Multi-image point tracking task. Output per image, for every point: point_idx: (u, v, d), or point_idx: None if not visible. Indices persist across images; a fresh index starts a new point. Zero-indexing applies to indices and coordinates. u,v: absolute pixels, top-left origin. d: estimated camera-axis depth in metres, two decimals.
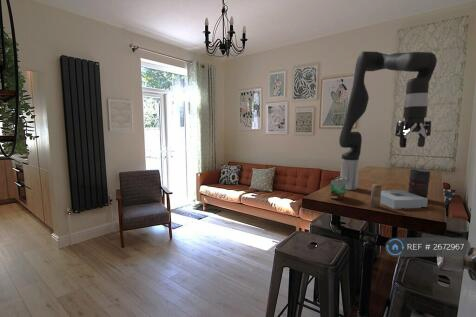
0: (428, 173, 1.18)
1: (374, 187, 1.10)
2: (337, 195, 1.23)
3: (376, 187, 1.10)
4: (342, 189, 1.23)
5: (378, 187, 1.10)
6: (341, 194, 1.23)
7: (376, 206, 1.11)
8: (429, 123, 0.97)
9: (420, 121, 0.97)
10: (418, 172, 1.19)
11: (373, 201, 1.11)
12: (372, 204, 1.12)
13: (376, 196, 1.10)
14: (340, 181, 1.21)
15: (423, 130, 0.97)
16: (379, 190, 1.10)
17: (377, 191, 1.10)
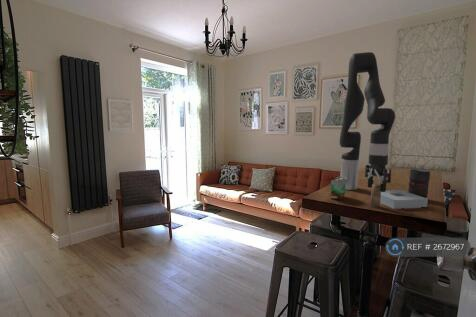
0: (428, 173, 1.18)
1: (374, 187, 1.10)
2: (337, 195, 1.23)
3: (376, 187, 1.10)
4: (342, 189, 1.23)
5: (378, 187, 1.10)
6: (341, 194, 1.23)
7: (376, 206, 1.11)
8: None
9: None
10: (418, 172, 1.19)
11: (373, 201, 1.11)
12: (372, 204, 1.12)
13: (376, 196, 1.10)
14: (340, 181, 1.21)
15: None
16: (379, 190, 1.10)
17: (377, 191, 1.10)
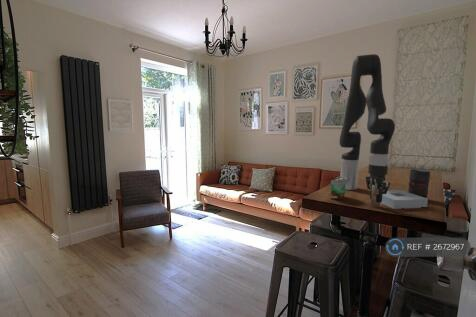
0: (428, 173, 1.18)
1: (374, 187, 1.10)
2: (337, 195, 1.23)
3: None
4: (342, 189, 1.23)
5: None
6: (341, 194, 1.23)
7: (376, 206, 1.11)
8: None
9: None
10: (418, 172, 1.19)
11: (373, 201, 1.11)
12: (372, 204, 1.12)
13: None
14: (340, 181, 1.21)
15: None
16: (379, 190, 1.10)
17: None
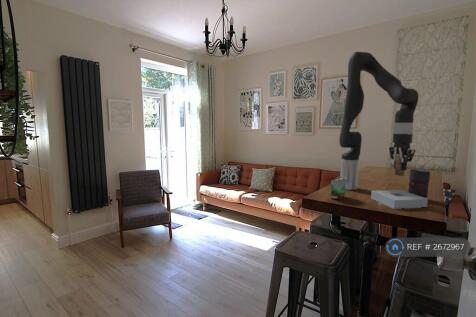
0: (428, 173, 1.18)
1: (398, 156, 1.14)
2: (337, 195, 1.23)
3: None
4: (342, 189, 1.23)
5: None
6: (341, 194, 1.23)
7: (400, 174, 1.14)
8: None
9: None
10: (418, 172, 1.19)
11: (397, 169, 1.15)
12: (396, 172, 1.15)
13: None
14: (340, 181, 1.21)
15: None
16: None
17: None
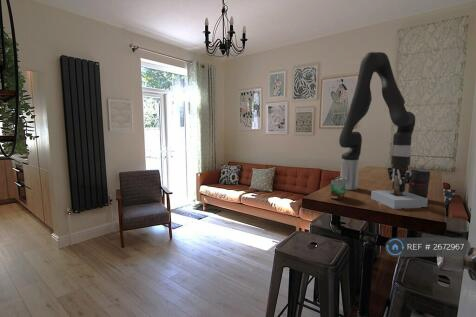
0: (428, 173, 1.18)
1: (397, 177, 1.15)
2: (337, 195, 1.23)
3: None
4: (342, 189, 1.23)
5: None
6: (341, 194, 1.23)
7: (399, 195, 1.16)
8: None
9: None
10: (418, 172, 1.19)
11: (396, 191, 1.16)
12: (395, 194, 1.17)
13: None
14: (340, 181, 1.21)
15: None
16: (402, 180, 1.15)
17: None
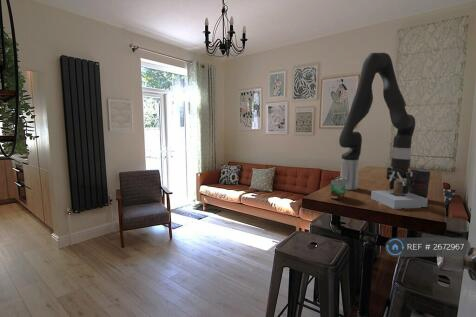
0: (428, 173, 1.18)
1: (396, 184, 1.16)
2: (337, 195, 1.23)
3: (398, 184, 1.15)
4: (342, 189, 1.23)
5: (400, 184, 1.15)
6: (341, 194, 1.23)
7: None
8: None
9: None
10: (418, 172, 1.19)
11: None
12: None
13: (399, 192, 1.16)
14: (340, 181, 1.21)
15: None
16: (401, 187, 1.15)
17: (399, 187, 1.15)
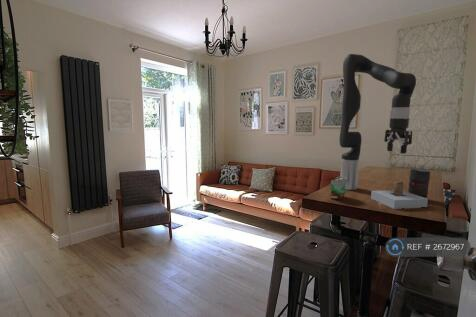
0: (428, 173, 1.18)
1: (396, 184, 1.16)
2: (337, 195, 1.23)
3: (398, 184, 1.15)
4: (342, 189, 1.23)
5: (400, 184, 1.15)
6: (341, 194, 1.23)
7: None
8: None
9: None
10: (418, 172, 1.19)
11: None
12: None
13: (399, 192, 1.16)
14: (340, 181, 1.21)
15: None
16: (401, 187, 1.15)
17: (399, 187, 1.15)
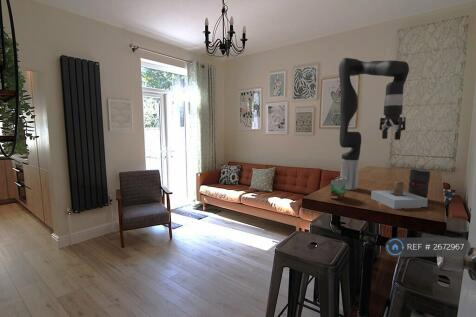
0: (428, 173, 1.18)
1: (396, 184, 1.16)
2: (337, 195, 1.23)
3: (398, 184, 1.15)
4: (342, 189, 1.23)
5: (400, 184, 1.15)
6: (341, 194, 1.23)
7: None
8: None
9: None
10: (418, 172, 1.19)
11: None
12: None
13: (399, 192, 1.16)
14: (340, 181, 1.21)
15: None
16: (401, 187, 1.15)
17: (400, 187, 1.15)
